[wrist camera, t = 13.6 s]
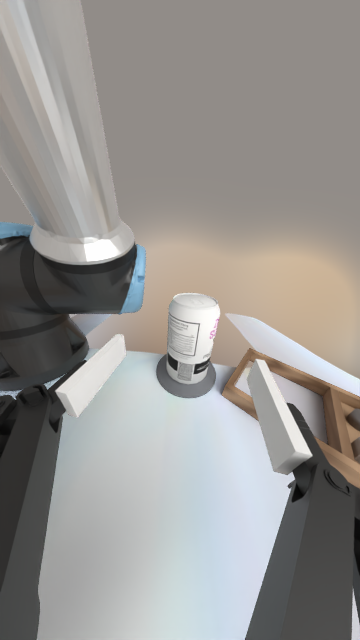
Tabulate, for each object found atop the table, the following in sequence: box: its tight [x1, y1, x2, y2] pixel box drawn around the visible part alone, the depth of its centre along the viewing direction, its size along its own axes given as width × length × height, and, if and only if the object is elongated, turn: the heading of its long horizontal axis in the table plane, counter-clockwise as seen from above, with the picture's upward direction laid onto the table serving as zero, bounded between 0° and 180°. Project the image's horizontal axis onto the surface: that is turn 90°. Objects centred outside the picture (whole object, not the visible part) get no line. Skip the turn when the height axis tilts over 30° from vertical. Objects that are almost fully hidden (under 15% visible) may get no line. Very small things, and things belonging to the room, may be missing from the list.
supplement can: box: [166, 293, 220, 384], centre depth 25 cm, size 8×8×15 cm
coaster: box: [157, 354, 216, 398], centre depth 28 cm, size 12×12×1 cm
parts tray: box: [222, 348, 360, 489], centre depth 22 cm, size 24×14×3 cm, turn 49°
